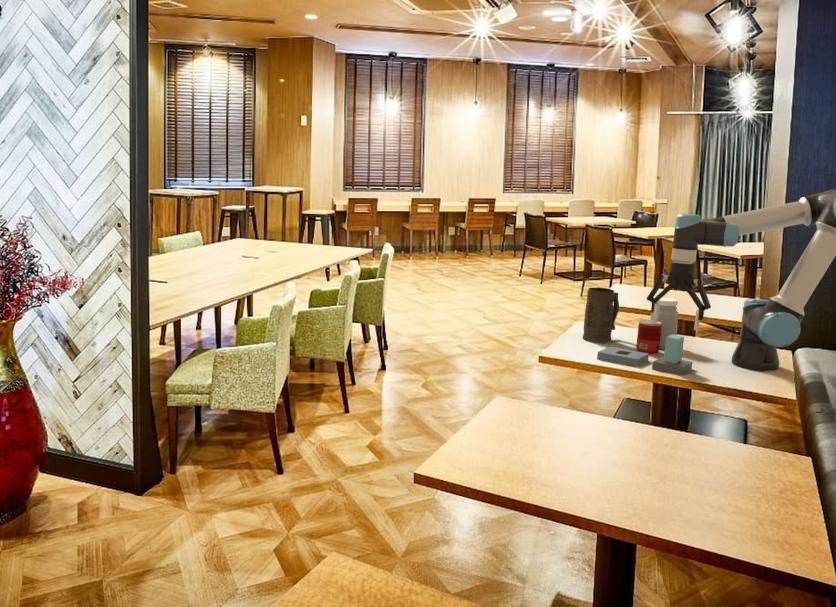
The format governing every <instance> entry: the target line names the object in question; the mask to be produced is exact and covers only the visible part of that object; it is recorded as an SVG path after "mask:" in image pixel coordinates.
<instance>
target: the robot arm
mask: <svg viewBox="0 0 836 607" xmlns="http://www.w3.org/2000/svg"><path fill="white" fill-rule="evenodd" d="M797 225H804V226H806V227H808V226H813V225H816V231H815V232H814V234H813V236H812V237H811V239H810V241H809V242H808V244H807V245H806V248H805V249H804V251H803V252H802V254H801V256H800V258H799V259H798V261H797V262H796V264H795V265H794V267H793V269H792V270H791V272H790V273H789V276H788V277H787V279H786V280H785V282H784V284H783V285H782V287H781V288H780V290H779V292H778V294H777V295H775V296H771V297H769V299H758V298H757V299H756V298H755V299H753V298H748V299H745V300H744V302H743V303H744V304H743V307H742V317H741V325H740V334H739V341H738V342H737V344H736V345H737V346H736V347H735V349H734V351H733V354H732V355H731V364H733V365H735V366H737V367H740V368H744V369H749V370H753V371H765V370H767V371H769V370H771V371H777V370H779V368H780V358H779V353H778V349H777V348H784V347H788V346H790V345H792V344H793V343H794V342H796V340H797V339H798V338H799V336H800V334H801V322H802V321H803V319H804V318H805V315H806V314H805V311H804V307H805V306H806V304H807V303H808V301H809V299H810V297H811V296H812V294H813V292H814V291H815V289H817V287H818V285H819V283H820V281H821V280H822V278H823V277H824V275H825V274H826V272H827V270H828V268H829V267H830V265H831V264H832V262H833V260H834V259H835V258H836V188H835V189H830V190H825V191H822V192H818V193H814V194H811V195H807V196H802V197H800V198H799V200H798V201H793V202H788V203H783V204H779V205H773V206H768V207H767V206H766V207H763V208H759V209H754V210H749V211H743V212H740V213H739V212H737V213H733V214H729V215H724V216H718V217H713V218H703V219H702V218H701V215H699V214H692V213H691V214H690V213H679V214H678V215H677V216H676V218H675V225H674V227H673V228H674V233H673V242H672V247H671V248H672V249H671V257H670V259H671V261H670V264H669V265H670V266H669V274H668V275H666V274H665V273H661V274H659V275H658V279H657V281H656V283H655V285H654V286H653V288H652V289H651V291H650V292H649V294H648V295H647V297H646V301H649V302H651V306H650V307H651V309H650V311H651V312H652V313H654V314H653V323H657V322H658V313H659V305H660V303H657V302H658V301H659V300H660V299H661V298H662V297H665V296H666V295H667V294H668V293H669V292H670V291H672V289H673V291H679V292H686V293H687V294H688V295H689V297H690V298H691V299H692V301H693V303H694V304H695V305H696V307H697V308H698V309H696V311H695V317H694V318H695V320H694V326H693V331H698V330H699V329H700V322H701V321H702V320H704V315H705V310H709V309H711V308H712V306H711V303H710V300H709V298H708V295H707V292H706V289H705V286H704V279H703V278H699V279H698V278H697V279H696V278H694V277H695V276H694V275H695V269H696V268H695V267H696V264H695V262H696V260H697V259H696V258H697V253H698V252H697V251H698V245H701V246H714V247H715V246H716V247H724V248H726V247H728V248H729V247H730V248H731V247H735V246H736V245H737V244H738V242H739V237H741V236H745V235H750V234H756V233H761V232H766V231H771V230H776V229H782V228H787V227H792V226H797ZM666 281H667V282H668V285H667V286H666V287H665V288H664V289H663V290H661V291H660V292H659V293H658V291H659V290H660V288H661V287H662V285H663V283H664V282H666ZM692 285H695V286H697V290H698V292H699V295H700V298H701V299H700V298H699V296H698V295H697V293H696V291H695V289H694V288H693V286H692ZM657 293H658V294H657ZM701 300H702V301H701ZM651 312H650V313H651Z"/></svg>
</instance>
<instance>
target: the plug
mask: <svg viewBox="0 0 836 607" xmlns="http://www.w3.org/2000/svg"><path fill="white" fill-rule="evenodd" d="M684 340H685V336H683V335H679V334H678V335H677V334H676V335H670V336H668V337H666V344H665V349H664V353H663V354H664V355H663V357H664V361H666V363H672V364H678V363H679V361H681V360H683V349H684V342H685V341H684Z"/></svg>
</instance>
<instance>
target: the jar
mask: <svg viewBox="0 0 836 607" xmlns="http://www.w3.org/2000/svg"><path fill="white" fill-rule="evenodd" d="M678 302H679V301H678V299H676V298H673V297H665V296H663V297H662V298H661V299H660V300H659V301H658V302H657V303H660V305H659V313H658V321H659V322H661V323H662V329H661V338H660V348H659V350H665V344H666V337H668V336H670V335H677V330H678V319H679V311H678V307H677V306H678ZM653 314H654V313H652V312H650V320H653Z"/></svg>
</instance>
